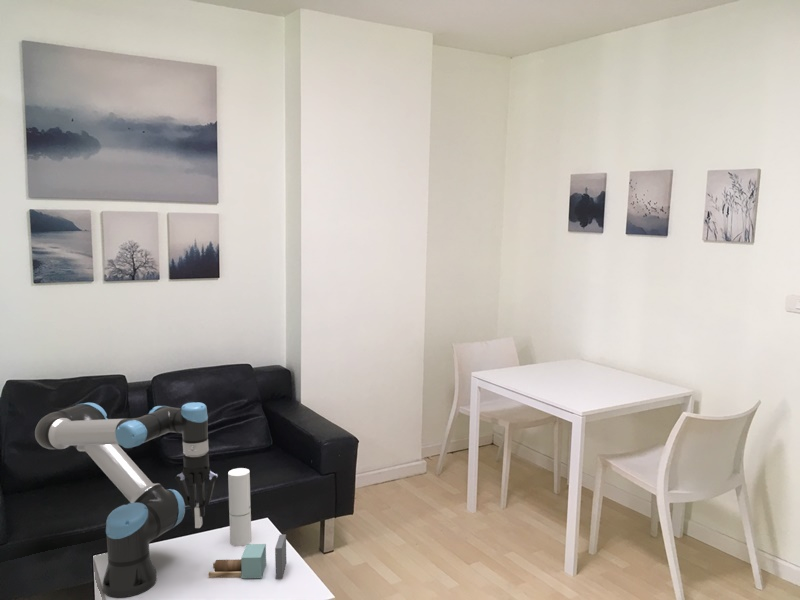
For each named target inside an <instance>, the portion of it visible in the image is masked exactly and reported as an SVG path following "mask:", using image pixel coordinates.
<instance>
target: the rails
mask: <svg viewBox="0 0 800 600" xmlns="http://www.w3.org/2000/svg"><path fill="white" fill-rule="evenodd" d="M212 565H213V566H212V567H213V569H214V566H215V562H213V563H212ZM207 575H208V579H211V578H212V579H214V578H216V579H217V578H220V579H221V578H222V579H223V578H224V579H225V578H242V572H241V571H233V572H214V571H208V574H207Z"/></svg>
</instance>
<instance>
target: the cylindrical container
mask: <svg viewBox="0 0 800 600" xmlns="http://www.w3.org/2000/svg"><path fill="white" fill-rule="evenodd" d="M227 475H228V478H227V480H228V481H227V482H228V483H227V484H228V511H229V513H228V514H229V543H230V545H231V546H233V547H244V546H245V547H246V545H247V544H251V543H252V514H251V511H252V509H251V507H252V506H251V477H250V476H251V475H250V469H249V468H246V467H245V468H244V467H237V468H232V469H231V470H229V471H228V473H227Z"/></svg>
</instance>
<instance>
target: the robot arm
mask: <svg viewBox="0 0 800 600" xmlns="http://www.w3.org/2000/svg"><path fill="white" fill-rule="evenodd" d="M207 407H208V406H207V405H206V404H205V403H203V402H194V401H193V402H186V403H184V404H182V406H181V408H180V407H172V406H168V405H157V406H154V407H152V409H150V410H149V412H148V413H146V414H145V415H142V416H140V417H133V418H107V417H108V415H107V412H106V411H105V409H104V408H103V407H102V406H100V405H99V404H98V403H94V402H84V403H78V404H75V405H74V406H71V407H67V408H63V409H61V410H57V411H53V412H50V413H48V414H47V415H44V416H43V417H41V419H40V420H39V421H38V423H37V425H36V427H35V430H34V436H35V440H36V442H37V444H39V445H40V446H41V447H42V448H45V449H48V450H64V449H66V448H69V447H70V446H73V447H74V448H75V449H76V450H77V451H78V452H85V453H86V454H88V456H89V457H90V458H91V459H92V461H94V463H95V464H96V465H97V466H98V468H100V470H101V471H102V472H103V473H104V474H105V475H106V477H108V479H109V480H110V481H111V482H112V483H113V484H114V486H115V487H117V490H119V491H120V492H121V493H122V495H123V496H124V497H125V498H126V499H127V500H128V502H129V503H127V504H122V505H120V506H118V507H116V508H114V509H113V510H112V511H111V512H110V513H109V514H108V516H107V518H106V521H105V522H106V523H105V524H106V526H105V534H106V546H107V547H106V548H107V549H106V550H107V562H108V563H107V566H106V570H105V573H104V576H103V580H102V589H103V590H102V591H103V593H104V594H105V595H107V596H109V597H111V598H112V597H113V598H127V597H132V596H137V595H139V594H142V593H145V592H146V591H148V590H149V589H151V588H152V587H153V586H154V585H155V584H156V582H157V579H158V578H157V569H156V567H155V565H154V563H153V561H152V558H151V556H150V543H151V542H152V541H154V540H156V539H157V538H159V537H160V536H162V535H163V534H165V533H167V532H168V531H171V530H172V529H174V528H175V527H176V526H178V525H179V524H180V523H181V522H182V521H183V519H184V517H185V513H186V507H188V506H189V507H190V511H191V512H190V513H191V517H192V518H194V528H195V529H200V528H201V527H202V526H203V517H205V514H206V506H209V504H210V503H211V501H212V497H213V492H214V487H215V483H216V480H217V478H218V476H219V474H218V472H215V473H214V472H213V471H212V469H211V467H210V455H209V450H210V448H209V434H208V427H209V426H208V425H209V424H208V421H209V420H208V419H209V416H208V409H207ZM168 433H176V434H182V436H181V437H182V453H183V456H182V457H183V458H182V459H183V469H182V471H181V473H177V475H176V476H175V477H174V480H175V481H176V482H177V483H178V486H179V489H180V492H179V491H177V490H175V489H172V488H169V489H165V487H163V485H162V484H161V483H158V482H157V483H153V482H152V481H151V480H150V478H148V476H147V475H146V474H145V473H144V472H143V471H142V469H140V468H139V466H138V465H137V464H136V463H135V462H134V461H133V460H132V458H131V457H130V456H129V455H128V454H127V452H125V451H124V450H123V449H122V447H123V448H124V449H132V448H134V447H139V446H140V445H142V444H144V443H147V442H149V441H151V440H153V439H157V438H159V437H161V436H163V435H166V434H168ZM121 446H122V447H121ZM208 476H209V477H208ZM207 478H209V480H210V481H209V484H208V488H207V491H206V490H205V487H206V486H205V482H206V479H207ZM185 479H186V480H187V481H188V484H189V486H187V483H186V480H185ZM188 487H189V490H188ZM197 487H198V489H197ZM197 490H198V495H197ZM205 491H206V492H207V493H205ZM197 496H198V497H197ZM197 498H198V500H197Z"/></svg>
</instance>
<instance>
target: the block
mask: <svg viewBox="0 0 800 600" xmlns="http://www.w3.org/2000/svg"><path fill="white" fill-rule="evenodd" d="M266 565H267V544H266V543H249V544H247V545H245V548H244V550H243V553H242V555H241V567H242V572H241V575H242V576H241V579H262V577H263V574H264V571H265V568H266Z"/></svg>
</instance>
